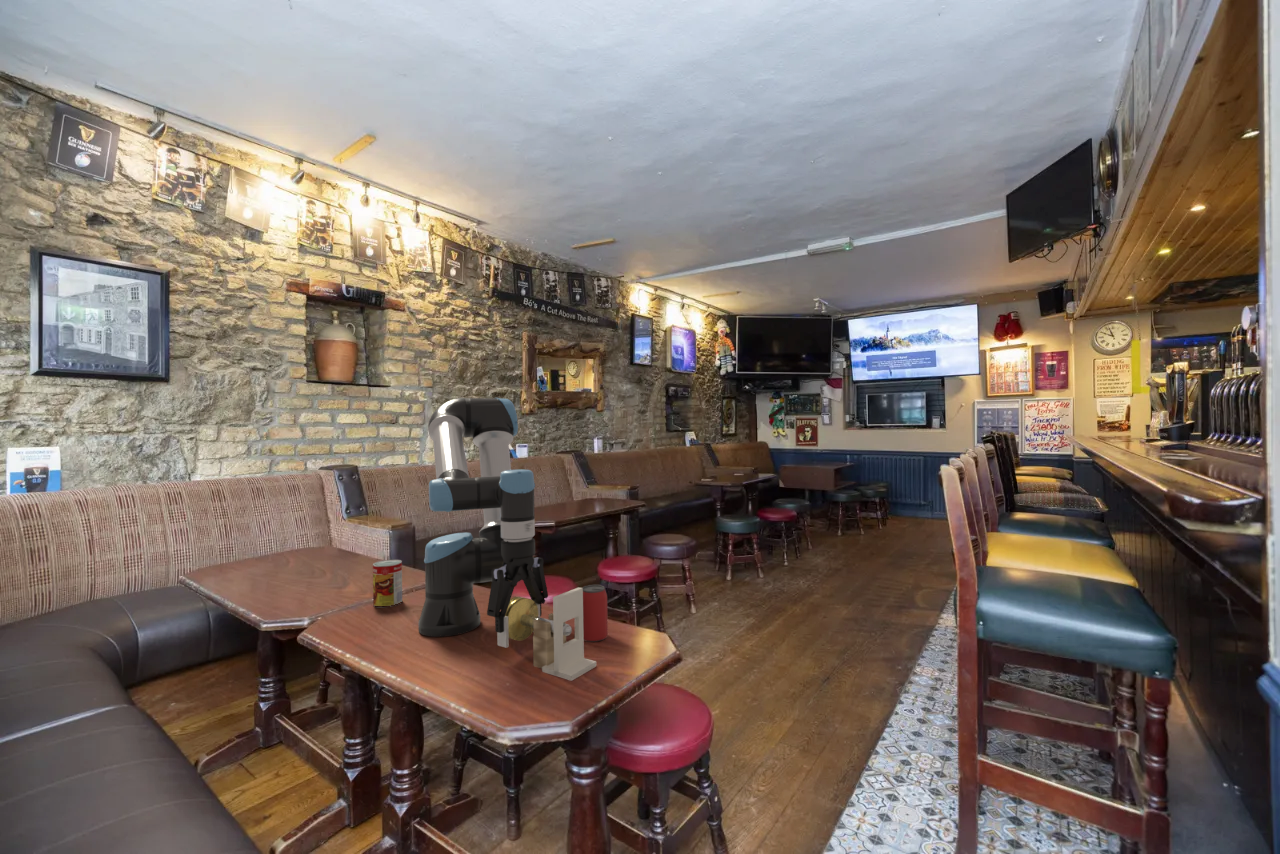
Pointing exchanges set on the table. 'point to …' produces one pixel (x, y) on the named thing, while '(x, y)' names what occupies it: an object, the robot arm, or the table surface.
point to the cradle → (543, 643)
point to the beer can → (595, 613)
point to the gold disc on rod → (526, 619)
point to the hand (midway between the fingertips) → (519, 638)
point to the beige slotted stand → (571, 653)
